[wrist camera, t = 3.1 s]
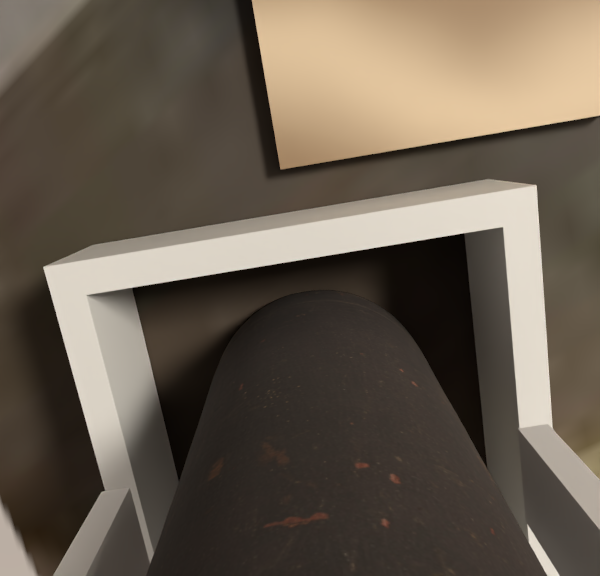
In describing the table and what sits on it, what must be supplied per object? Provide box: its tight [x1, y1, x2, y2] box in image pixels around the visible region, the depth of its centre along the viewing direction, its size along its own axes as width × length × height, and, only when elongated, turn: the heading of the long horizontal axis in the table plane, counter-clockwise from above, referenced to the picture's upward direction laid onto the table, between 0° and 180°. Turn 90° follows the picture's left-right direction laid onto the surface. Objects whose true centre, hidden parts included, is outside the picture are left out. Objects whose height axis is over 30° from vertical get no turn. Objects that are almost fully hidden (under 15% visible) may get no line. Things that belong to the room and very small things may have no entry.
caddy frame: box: [43, 179, 560, 576], centre depth 19 cm, size 14×14×4 cm
